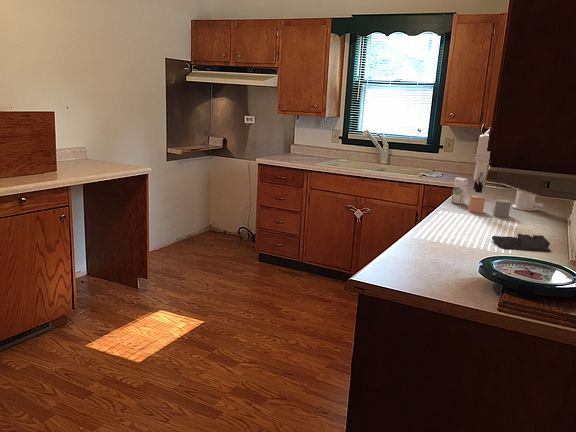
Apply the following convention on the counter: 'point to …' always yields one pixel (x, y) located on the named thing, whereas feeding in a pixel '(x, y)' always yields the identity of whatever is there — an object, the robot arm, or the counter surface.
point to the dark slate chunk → (523, 243)
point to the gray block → (501, 208)
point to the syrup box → (459, 190)
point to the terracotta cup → (476, 204)
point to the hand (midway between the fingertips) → (477, 191)
